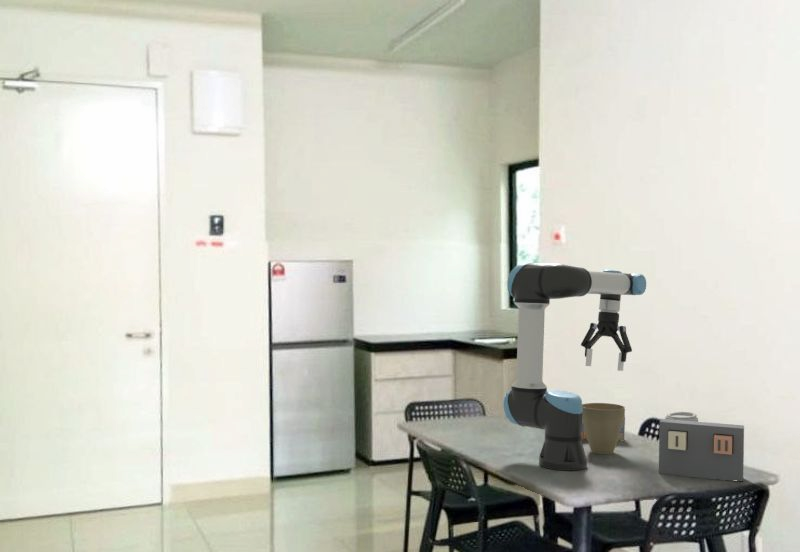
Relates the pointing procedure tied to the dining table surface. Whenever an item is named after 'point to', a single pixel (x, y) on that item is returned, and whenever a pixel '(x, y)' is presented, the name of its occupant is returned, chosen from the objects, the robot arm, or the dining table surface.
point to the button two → (723, 444)
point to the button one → (677, 440)
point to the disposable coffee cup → (682, 416)
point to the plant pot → (602, 425)
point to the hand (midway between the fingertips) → (604, 368)
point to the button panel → (701, 450)
